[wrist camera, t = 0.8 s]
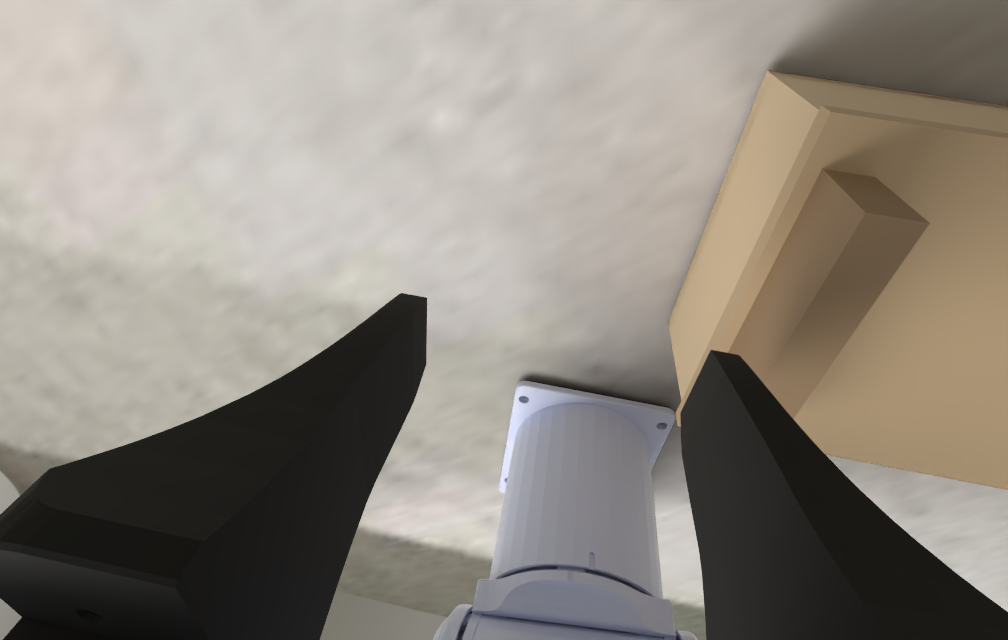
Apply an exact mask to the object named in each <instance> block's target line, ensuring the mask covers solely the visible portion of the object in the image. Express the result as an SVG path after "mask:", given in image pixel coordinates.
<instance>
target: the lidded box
mask: <svg viewBox="0 0 1008 640" xmlns="http://www.w3.org/2000/svg"><path fill="white" fill-rule="evenodd" d="M821 105H825V106H831V107H838V108H845V109H851V110H858V111H865V112H871V113H878V114H885V115H891V116H898V117H904V118H911V119H918V120H924V121H931V122H938V123H944V124H951V125H958V126H964V127H971V128H978V129H984V130H991V131H997V132H1004V133H1008V106H1003V105H996V104H989V103H983V102H976V101H969V100H962V99H956V98H949V97H942V96H935V95H928V94H922V93H915V92H908V91H901V90H894V89H888V88H881V87H874V86H867V85H861V84H854V83H847V82H840V81H833V80H827V79H820V78H813V77H806V76H799V75H793V74H786V73H779V72H772V71H766V74H765V76H764V79H763V82H762V84H761V87H760V89H759V92H758V94H757V97H756V99H755V102H754V104H753V107H752V109H751V112H750V115H749V117H748V120H747V122H746V125H745V127H744V130H743V132H742V135H741V137H740V140H739V143H738V145H737V148H736V150H735V153H734V155H733V158H732V160H731V163H730V165H729V168H728V171H727V173H726V176H725V178H724V181H723V183H722V186H721V188H720V191H719V193H718V196H717V198H716V201H715V204H714V206H713V209H712V211H711V214H710V216H709V219H708V221H707V224H706V226H705V229H704V232H703V234H702V237H701V239H700V242H699V244H698V247H697V249H696V252H695V254H694V257H693V260H692V262H691V265H690V267H689V270H688V272H687V275H686V277H685V280H684V282H683V285H682V287H681V290H680V293H679V295H678V298H677V300H676V303H675V305H674V308H673V310H672V313H671V315H670V318H669V321H668V326H669V332H670V338H671V343H672V349H673V355H674V361H675V367H676V373H677V378H678V384H679V390H680V396H681V401H682V398H683V396H684V394H685V392H686V390H687V388H688V386H689V384H690V382H691V379H692V377H693V375H694V373H695V371H696V369H697V367H698V365H699V362H700V360H701V358H702V356H703V354H704V352H705V350H706V348H707V346H708V343H709V341H710V339H711V337H712V335H713V333H714V331H715V329H716V327H717V324H718V322H719V320H720V318H721V316H722V314H723V312H724V310H725V308H726V305H727V303H728V301H729V299H730V297H731V295H732V293H733V291H734V288H735V286H736V284H737V282H738V280H739V278H740V276H741V274H742V272H743V269H744V267H745V265H746V263H747V261H748V259H749V257H750V255H751V253H752V250H753V248H754V246H755V244H756V242H757V240H758V238H759V236H760V234H761V231H762V229H763V227H764V225H765V223H766V221H767V219H768V217H769V215H770V212H771V210H772V208H773V206H774V204H775V202H776V200H777V198H778V195H779V193H780V191H781V189H782V187H783V185H784V183H785V181H786V179H787V176H788V174H789V172H790V170H791V168H792V166H793V164H794V162H795V160H796V157H797V155H798V153H799V151H800V149H801V147H802V145H803V143H804V141H805V138H806V136H807V134H808V132H809V130H810V128H811V126H812V124H813V121H814V119H815V117H816V115H817V113H818V111H819V109H820V107H821Z"/></svg>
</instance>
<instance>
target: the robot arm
mask: <svg viewBox="0 0 1008 640" xmlns="http://www.w3.org/2000/svg"><path fill="white" fill-rule="evenodd" d="M426 333H427V298H425V297H419V296H414V295H409V294H403V293H401V294H399V295H398V296H396V297H395V298H394V299H392V300H391V301H390V302H388V303H387V304H386V305H385V306H383V307H382V308H381V309H379V310H378V311H377V312H376V313H374V314H373V315H372V316H370V317H369V318H368V319H367V320H365V321H364V322H363V323H361V324H360V325H359V326H357V327H356V328H355V329H353V330H352V331H351V332H349V333H348V334H346V335H345V336H344V337H342V338H341V339H340V340H338V341H337V342H335V343H334V344H333V345H331V346H330V347H328V348H327V349H325V350H324V351H322V352H321V353H319V354H318V355H316V356H315V357H313V358H311V359H310V360H308V361H307V362H305V363H304V364H302V365H301V366H299V367H298V368H296V369H294V370H293V371H291V372H289V373H288V374H286V375H284V376H282V377H281V378H279V379H277V380H275V381H273V382H271V383H270V384H268V385H266V386H264V387H262V388H260V389H258V390H256V391H254V392H253V393H251V394H249V395H246V396H244V397H242V398H240V399H238V400H236V401H233V402H231V403H229V404H227V405H225V406H223V407H220V408H218V409H216V410H214V411H212V412H210V413H207V414H205V415H203V416H201V417H198V418H196V419H193V420H191V421H189V422H186V423H184V424H181V425H179V426H176V427H174V428H171V429H168V430H166V431H163V432H160V433H158V434H155V435H152V436H150V437H147V438H144V439H142V440H139V441H136V442H133V443H130V444H127V445H124V446H121V447H118V448H115V449H112V450H109V451H106V452H103V453H99V454H96V455H93V456H90V457H87V458H84V459H81V460H77V461H74V462H71V463H68V464H65V465H61V466H58V467H54V468H51V469H49V470H48V471H47V472H46V473H44V474H43V475H42V476H41V477H40V478H39V479H38V480H37V481H36V482H35V483H33V484H32V485H31V486H30V487H29V488H28V489H27V490H26V491H25V492H24V493H23V494H22V495H21V496H20V497H19V498H18V499H17V500H15V501H14V502H13V503H12V504H11V505H10V506H9V507H8V508H7V509H6V510H5V511H4V512H3V513H2V514H1V515H0V598H1V599H2V600H3V601H4V602H6V603H7V604H8V605H9V606H10V607H11V608H12V609H14V610H15V611H16V612H17V613H18V614H19V615H21V616H22V618H21V619H20V620H19V622H18V623H17V624H16V625H15V626H14V627H13V629H12V630H11V631H10V632H9V633H8V635H7V636H6V637H5V638H4V639H3V640H320V637H321V634H322V630H323V627H324V624H325V621H326V618H327V615H328V612H329V609H330V606H331V603H332V600H333V597H334V594H335V591H336V588H337V585H338V582H339V579H340V576H341V573H342V570H343V567H344V564H345V561H346V559H347V556H348V553H349V550H350V547H351V544H352V541H353V538H354V536H355V533H356V530H357V527H358V525H359V522H360V519H361V516H362V514H363V511H364V508H365V505H366V503H367V500H368V498H369V495H370V493H371V491H372V488H373V486H374V484H375V481H376V479H377V477H378V475H379V473H380V471H381V469H382V467H383V465H384V463H385V461H386V459H387V456H388V454H389V452H390V450H391V448H392V446H393V444H394V442H395V440H396V438H397V436H398V434H399V432H400V430H401V427H402V425H403V423H404V421H405V419H406V417H407V415H408V413H409V411H410V408H411V406H412V404H413V402H414V399H415V396H416V393H417V390H418V388H419V385H420V381H421V378H422V375H423V372H424V369H425V366H426ZM522 396H526V397H527V398H524V397H522ZM680 418H681V446H682V457H683V464H684V469H685V475H686V481H687V487H688V492H689V498H690V503H691V508H692V514H693V519H694V525H695V530H696V536H697V541H698V547H699V553H700V560H701V568H702V578H703V591H704V605H705V618H706V637H707V640H1008V612H1007V611H1005V610H1004V609H1003V608H1001V607H1000V606H999V605H997V604H996V603H995V602H993V601H992V600H990V599H989V598H988V597H986V596H985V595H984V594H982V593H981V592H980V591H979V590H977V589H976V588H975V587H973V586H972V585H971V584H969V583H968V582H967V581H966V580H964V579H963V578H962V577H960V576H959V575H958V574H956V573H955V572H954V571H953V570H951V569H950V568H949V567H948V566H947V565H945V564H944V563H943V562H942V561H940V560H939V559H938V558H937V557H936V556H934V555H933V554H932V553H931V552H929V551H928V550H927V549H926V548H925V547H923V546H922V545H921V544H920V543H918V542H917V541H916V540H915V539H914V538H912V537H911V536H910V535H909V534H908V533H907V532H906V531H904V530H903V529H902V528H901V527H900V526H899V525H897V524H896V523H895V522H894V521H893V520H892V519H891V518H890V517H889V516H887V515H886V514H885V513H884V512H883V511H882V510H881V509H880V508H879V507H878V506H877V505H876V504H874V503H873V502H872V501H871V500H870V499H869V498H868V497H867V496H866V495H865V494H864V493H863V492H861V491H860V490H859V489H858V488H857V487H856V486H855V485H854V484H853V483H852V482H851V481H850V480H849V479H848V478H847V477H846V476H845V475H844V474H843V473H842V472H841V471H840V470H839V469H838V467H837V466H836V465H835V464H834V463H833V462H832V461H831V460H830V459H829V458H828V457H827V456H826V455H825V454H824V453H823V452H822V451H821V450H820V449H819V447H818V446H817V445H816V444H815V443H814V442H813V441H812V440H811V439H810V438H809V436H808V435H807V434H806V433H805V432H804V431H803V430H802V429H801V427H800V426H799V425H798V424H797V423H796V422H795V420H794V419H793V418H792V417H791V416H790V415H789V413H788V412H787V411H786V410H785V409H784V408H783V406H782V405H781V404H780V403H779V402H778V400H777V399H776V398H775V397H774V396H773V394H772V393H771V392H770V391H769V390H768V388H767V387H766V386H765V385H764V383H763V382H762V381H761V380H760V379H759V377H758V376H757V375H756V374H755V373H754V371H753V370H752V369H751V368H750V367H749V366H748V364H747V363H746V362H745V361H744V360H743V359H742V358H741V357H740V355H737V354H731V353H726V352H720V351H715V350H710V352H709V354H708V356H707V359H706V361H705V363H704V365H703V367H702V369H701V371H700V373H699V375H698V377H697V379H696V381H695V383H694V386H693V388H692V390H691V392H690V394H689V396H688V398H687V400H686V402H685V404H684V406H683V408H682V410H681V413H680ZM674 422H675V413H674V411H673V410H672V409H670V408H667V407H661V406H656V405H651V404H646V403H640V402H635V401H630V400H625V399H619V398H614V397H609V396H604V395H598V394H593V393H588V392H583V391H577V390H572V389H567V388H562V387H557V386H551V385H546V384H541V383H536V382H530V381H521V382H519V383H518V384H517V386H516V391H515V396H514V402H513V408H512V414H511V420H510V425H509V431H508V437H507V443H506V449H505V455H504V460H503V466H502V472H501V478H500V484H499V490H500V492H502V493H503V494H505V495H504V501H503V506H502V512H501V517H500V523H499V528H498V534H497V539H496V545H495V550H494V556H493V561H492V567H491V573H490V578H489V579H479V580H478V584H477V589H476V594H475V599H474V604H473V605H469V604H461V605H458V606H457V607H456V608H455V609H454V610H453V611H452V613H451V614H450V615H449V616H448V617H447V618H446V619H445V620H444V621H443V622H442V623H441V625H440V626H439V628H438V630H437V632H436V634H435V636H434V638H433V640H697V638H696V637H695V636H694V634H692V633H690V632H688V631H680V630H676V631H675V625H674V615H673V606H672V602H671V601H670V600H666V599H663V594H662V583H661V572H660V561H659V550H658V539H657V528H656V517H655V506H654V495H653V484H652V473H651V470H652V468H653V466H654V464H655V461H656V459H657V457H658V455H659V453H660V451H661V449H662V447H663V445H664V443H665V441H666V438H667V436H668V434H669V432H670V430H671V428H672V426H673V424H674ZM659 423H663V424H659Z"/></svg>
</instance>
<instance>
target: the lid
mask: <svg viewBox="0 0 1008 640" xmlns="http://www.w3.org/2000/svg"><path fill="white" fill-rule="evenodd" d="M710 350H715V351H720V352H726V353H731V354H737V355H740V357H741V358H742V359H743V360H744V361H745V362H746V363H747V364H748V366H749V367H750V368H751V369H752V370H753V371H754V373H755V374H756V375H757V376H758V377H759V379H760V380H761V381H762V382H763V383H764V385H765V386H766V387H767V388H768V390H769V391H770V392H771V393H772V394H773V396H774V397H775V398H776V399H777V400H778V402H779V403H780V404H781V405H782V406H783V408H784V409H785V410H786V411H787V412H788V413H789V415H790V416H791V417H792V418H793V419H794V420H795V422H796V423H797V424H798V425H799V426H800V427H801V429H802V430H803V431H804V432H805V433H806V434H807V435H808V436H809V438H810V439H811V440H812V441H813V442H814V443H815V444H816V445H817V446H818V447H819V449H820V450H821V451H822V452H823V453H824V454H825V455H830V456H835V457H840V458H845V459H851V460H856V461H861V462H866V463H871V464H876V465H882V466H887V467H892V468H897V469H902V470H908V471H913V472H918V473H923V474H928V475H934V476H939V477H944V478H949V479H954V480H959V481H965V482H970V483H975V484H980V485H985V486H991V487H996V488H1001V489H1006V490H1008V133H1004V132H997V131H991V130H984V129H978V128H971V127H964V126H958V125H951V124H944V123H938V122H931V121H924V120H918V119H911V118H904V117H898V116H891V115H885V114H878V113H871V112H865V111H858V110H851V109H845V108H838V107H831V106H825V105H821V107H820V109H819V111H818V113H817V115H816V117H815V119H814V121H813V124H812V126H811V128H810V130H809V132H808V134H807V136H806V138H805V141H804V143H803V145H802V147H801V149H800V151H799V153H798V155H797V157H796V160H795V162H794V164H793V166H792V168H791V170H790V172H789V174H788V176H787V179H786V181H785V183H784V185H783V187H782V189H781V191H780V193H779V195H778V198H777V200H776V202H775V204H774V206H773V208H772V210H771V212H770V215H769V217H768V219H767V221H766V223H765V225H764V227H763V229H762V231H761V234H760V236H759V238H758V240H757V242H756V244H755V246H754V248H753V250H752V253H751V255H750V257H749V259H748V261H747V263H746V265H745V267H744V269H743V272H742V274H741V276H740V278H739V280H738V282H737V284H736V286H735V288H734V291H733V293H732V295H731V297H730V299H729V301H728V303H727V305H726V308H725V310H724V312H723V314H722V316H721V318H720V320H719V322H718V324H717V327H716V329H715V331H714V333H713V335H712V337H711V339H710V341H709V343H708V346H707V348H706V350H705V352H704V354H703V356H702V358H701V360H700V362H699V365H698V367H697V369H696V371H695V373H694V375H693V377H692V379H691V382H690V384H689V386H688V388H687V390H686V392H685V394H684V396H683V398H682V401H681V403H680V405H679V407H678V409H677V411H676V420H677V426H679V427H681V418H680V413H681V410H682V408H683V406H684V404H685V402H686V400H687V398H688V396H689V394H690V392H691V390H692V388H693V386H694V383H695V381H696V379H697V377H698V375H699V373H700V371H701V369H702V367H703V365H704V363H705V361H706V359H707V356H708V354H709V352H710Z"/></svg>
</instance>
